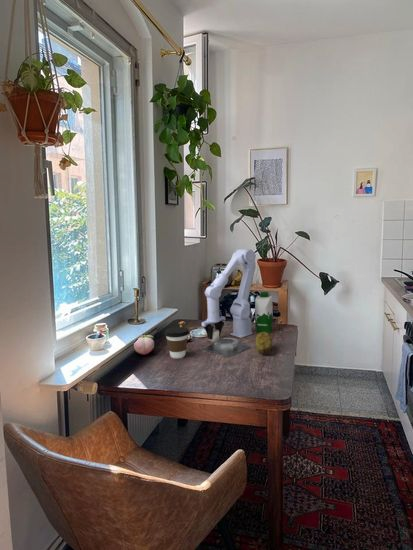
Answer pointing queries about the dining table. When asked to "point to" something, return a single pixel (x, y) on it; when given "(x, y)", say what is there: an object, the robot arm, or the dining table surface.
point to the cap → (214, 335)
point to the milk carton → (263, 312)
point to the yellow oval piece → (263, 343)
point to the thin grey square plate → (226, 347)
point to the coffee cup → (177, 341)
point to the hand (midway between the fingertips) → (214, 337)
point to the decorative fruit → (144, 344)
